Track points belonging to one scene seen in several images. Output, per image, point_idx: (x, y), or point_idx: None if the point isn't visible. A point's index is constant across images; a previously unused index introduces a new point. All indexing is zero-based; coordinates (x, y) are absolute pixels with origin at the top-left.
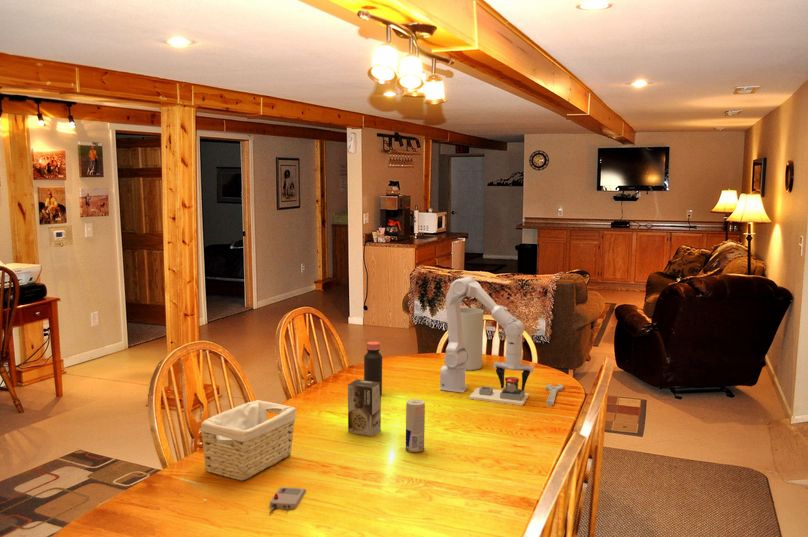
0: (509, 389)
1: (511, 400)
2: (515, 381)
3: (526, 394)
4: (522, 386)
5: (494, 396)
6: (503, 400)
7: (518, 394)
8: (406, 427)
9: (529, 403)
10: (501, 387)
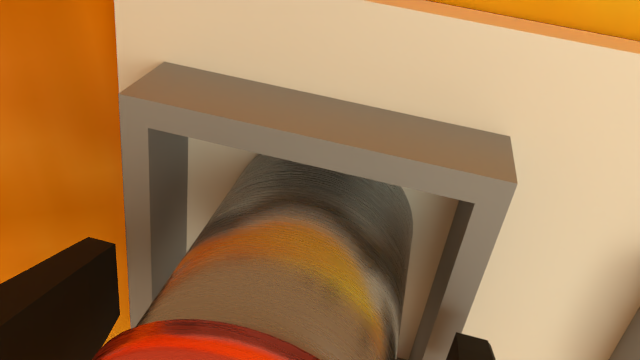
0: (318, 235)
1: (309, 57)
2: (114, 355)
3: None
4: (44, 278)
5: (600, 219)
6: (452, 31)
7: None
8: None
9: (76, 81)
10: (484, 347)
